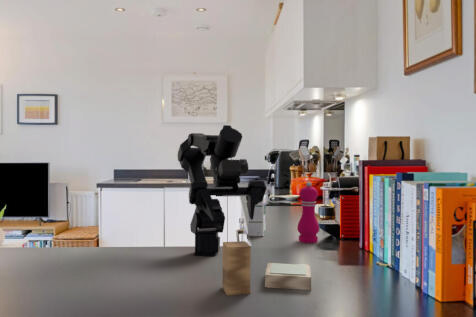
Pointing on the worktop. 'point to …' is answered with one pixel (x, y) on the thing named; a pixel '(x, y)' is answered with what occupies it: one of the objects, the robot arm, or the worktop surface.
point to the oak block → (236, 268)
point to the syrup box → (258, 220)
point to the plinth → (288, 276)
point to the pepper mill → (308, 215)
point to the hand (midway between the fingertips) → (233, 219)
